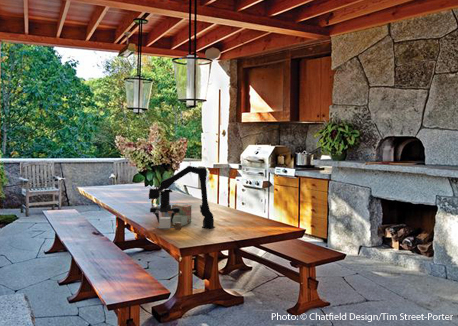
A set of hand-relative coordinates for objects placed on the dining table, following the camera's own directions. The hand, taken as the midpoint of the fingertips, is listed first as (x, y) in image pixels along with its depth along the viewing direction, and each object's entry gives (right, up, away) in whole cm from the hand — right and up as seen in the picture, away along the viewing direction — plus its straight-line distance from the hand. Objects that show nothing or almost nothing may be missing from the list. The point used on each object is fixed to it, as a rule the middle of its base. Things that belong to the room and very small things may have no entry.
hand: (165, 222), depth 271 cm
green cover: (+9, -3, +10) cm, 13 cm away
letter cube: (+9, -4, -1) cm, 10 cm away
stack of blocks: (+5, -2, +20) cm, 20 cm away
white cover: (0, -3, 0) cm, 3 cm away
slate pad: (0, -3, 0) cm, 3 cm away
